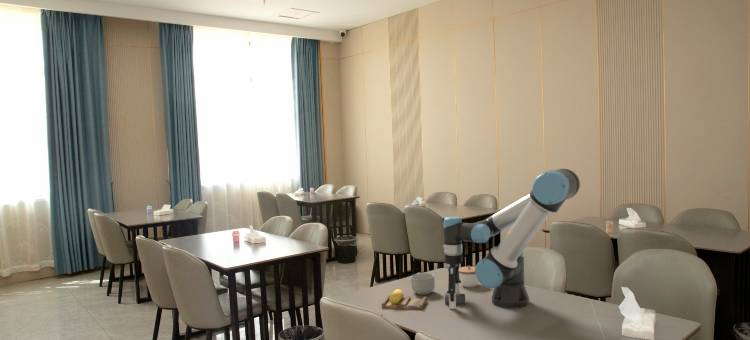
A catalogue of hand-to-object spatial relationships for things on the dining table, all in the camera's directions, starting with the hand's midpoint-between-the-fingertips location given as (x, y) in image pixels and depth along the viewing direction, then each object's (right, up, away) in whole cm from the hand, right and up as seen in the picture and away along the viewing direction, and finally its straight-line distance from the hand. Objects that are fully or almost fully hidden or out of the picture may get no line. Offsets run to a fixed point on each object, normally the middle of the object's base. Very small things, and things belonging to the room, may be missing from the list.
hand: (454, 303), depth 222 cm
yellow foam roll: (-24, +2, +2) cm, 25 cm away
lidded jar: (+11, +2, +26) cm, 29 cm away
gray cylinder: (0, +2, 0) cm, 2 cm away
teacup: (-12, 0, +19) cm, 22 cm away
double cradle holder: (-21, -1, +1) cm, 21 cm away
